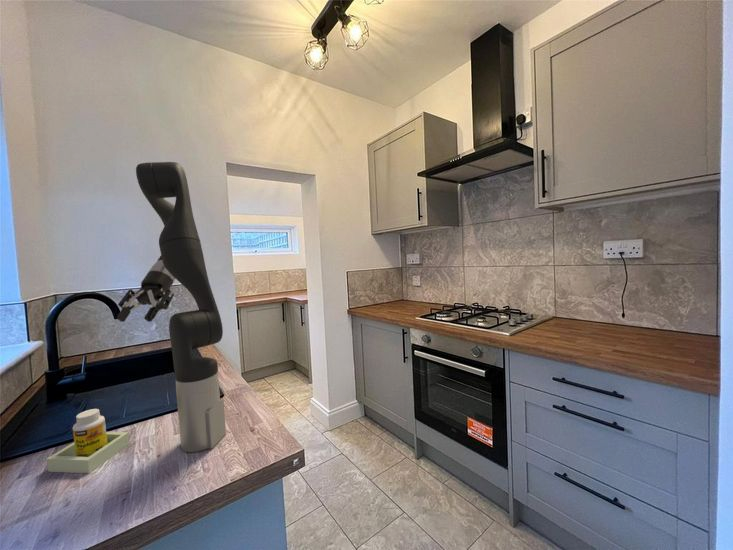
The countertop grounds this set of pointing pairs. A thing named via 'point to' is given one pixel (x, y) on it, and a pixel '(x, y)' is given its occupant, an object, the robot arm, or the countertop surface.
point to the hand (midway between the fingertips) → (133, 320)
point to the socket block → (72, 464)
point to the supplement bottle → (89, 433)
